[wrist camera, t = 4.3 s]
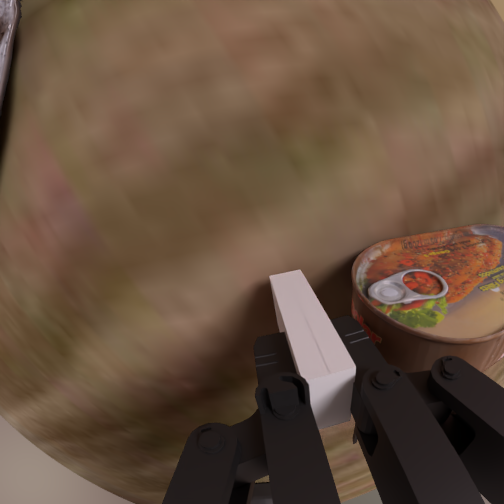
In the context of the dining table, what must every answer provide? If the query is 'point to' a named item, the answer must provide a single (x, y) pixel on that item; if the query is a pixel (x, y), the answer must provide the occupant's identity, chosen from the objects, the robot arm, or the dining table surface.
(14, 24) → the food plate
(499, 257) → the tin
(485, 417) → the robot arm
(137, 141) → the dining table surface
